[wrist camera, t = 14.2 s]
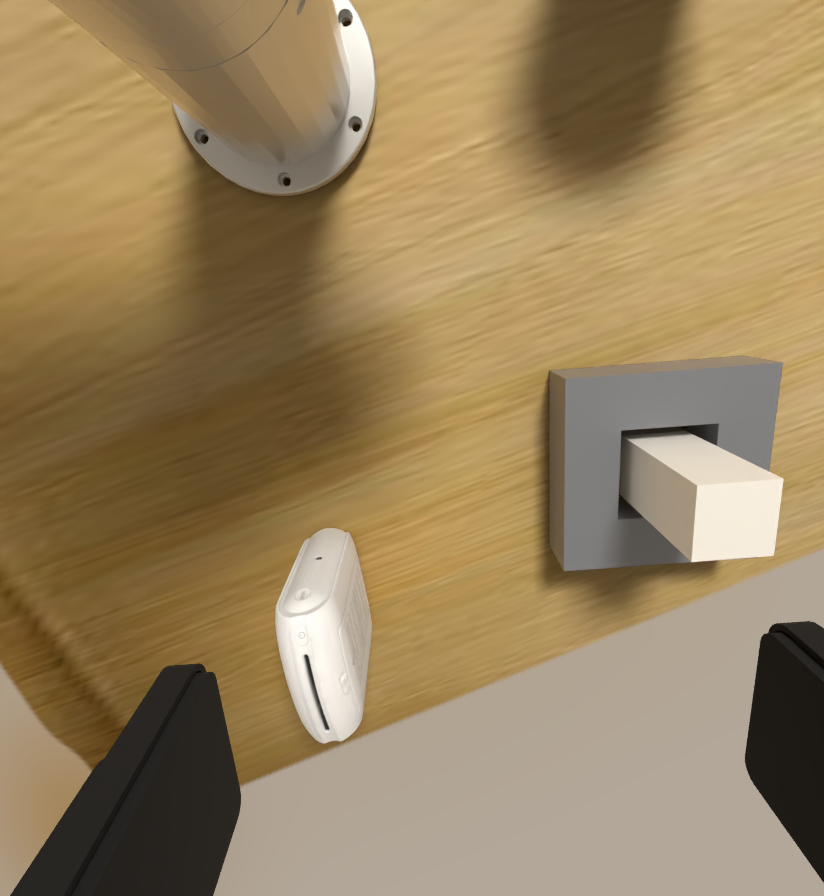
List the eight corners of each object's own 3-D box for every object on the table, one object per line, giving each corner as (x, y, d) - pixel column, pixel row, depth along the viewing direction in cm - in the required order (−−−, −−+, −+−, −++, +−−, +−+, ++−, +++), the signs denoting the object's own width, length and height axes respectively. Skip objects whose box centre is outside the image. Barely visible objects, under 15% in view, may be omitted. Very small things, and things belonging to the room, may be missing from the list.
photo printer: (299, 530, 41) (255, 626, 29) (352, 521, 41) (330, 613, 29) (327, 640, 44) (298, 768, 32) (378, 632, 44) (367, 757, 32)
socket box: (549, 370, 38) (565, 379, 34) (744, 355, 37) (782, 362, 34) (549, 545, 42) (563, 571, 38) (725, 533, 41) (758, 557, 38)
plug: (611, 428, 39) (697, 485, 27) (671, 424, 39) (783, 478, 27) (610, 485, 40) (691, 562, 29) (668, 480, 40) (773, 555, 29)
